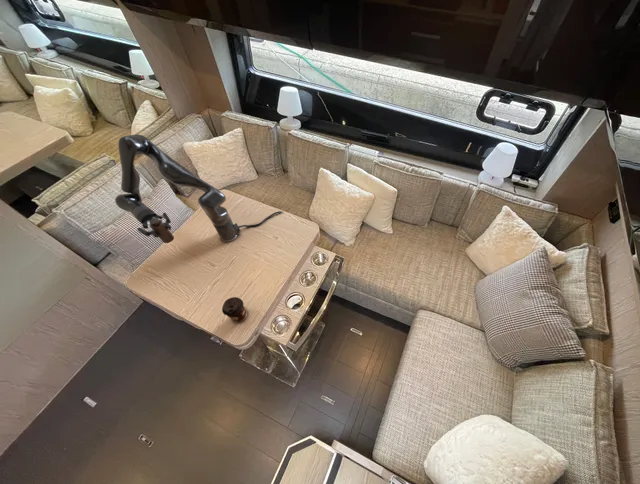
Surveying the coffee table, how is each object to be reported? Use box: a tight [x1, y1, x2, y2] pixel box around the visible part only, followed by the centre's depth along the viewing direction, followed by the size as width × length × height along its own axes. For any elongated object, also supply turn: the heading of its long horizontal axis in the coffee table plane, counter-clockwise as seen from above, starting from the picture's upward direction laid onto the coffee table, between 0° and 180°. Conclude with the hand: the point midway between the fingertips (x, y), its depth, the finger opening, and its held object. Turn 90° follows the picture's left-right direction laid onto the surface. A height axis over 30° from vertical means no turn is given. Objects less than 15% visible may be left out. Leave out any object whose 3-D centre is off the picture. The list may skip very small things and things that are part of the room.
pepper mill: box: [149, 218, 175, 244], centre depth 131 cm, size 5×5×14 cm
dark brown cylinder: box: [221, 296, 248, 323], centre depth 123 cm, size 9×8×13 cm
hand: (163, 232), depth 130 cm, fingers closed on pepper mill, 5 cm apart
